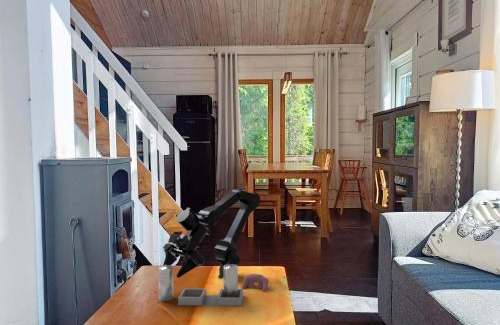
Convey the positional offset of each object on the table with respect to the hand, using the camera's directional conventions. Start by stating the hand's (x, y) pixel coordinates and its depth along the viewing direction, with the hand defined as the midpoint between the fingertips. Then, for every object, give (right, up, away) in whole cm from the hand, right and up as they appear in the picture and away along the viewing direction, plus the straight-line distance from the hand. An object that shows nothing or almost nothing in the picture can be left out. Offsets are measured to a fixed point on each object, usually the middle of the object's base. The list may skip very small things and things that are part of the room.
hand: (169, 274), depth 128 cm
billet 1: (-1, -9, -1) cm, 9 cm away
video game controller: (+31, -9, +8) cm, 33 cm away
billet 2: (+22, -8, -4) cm, 24 cm away
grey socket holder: (+15, -9, -3) cm, 18 cm away
